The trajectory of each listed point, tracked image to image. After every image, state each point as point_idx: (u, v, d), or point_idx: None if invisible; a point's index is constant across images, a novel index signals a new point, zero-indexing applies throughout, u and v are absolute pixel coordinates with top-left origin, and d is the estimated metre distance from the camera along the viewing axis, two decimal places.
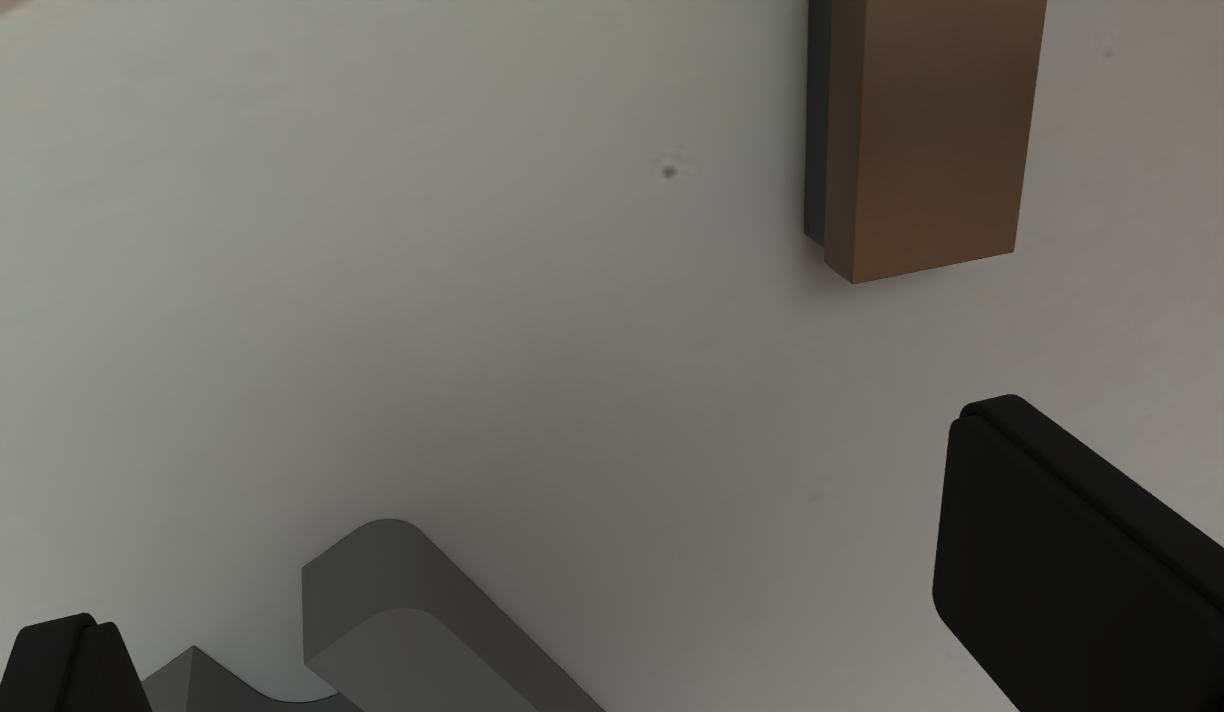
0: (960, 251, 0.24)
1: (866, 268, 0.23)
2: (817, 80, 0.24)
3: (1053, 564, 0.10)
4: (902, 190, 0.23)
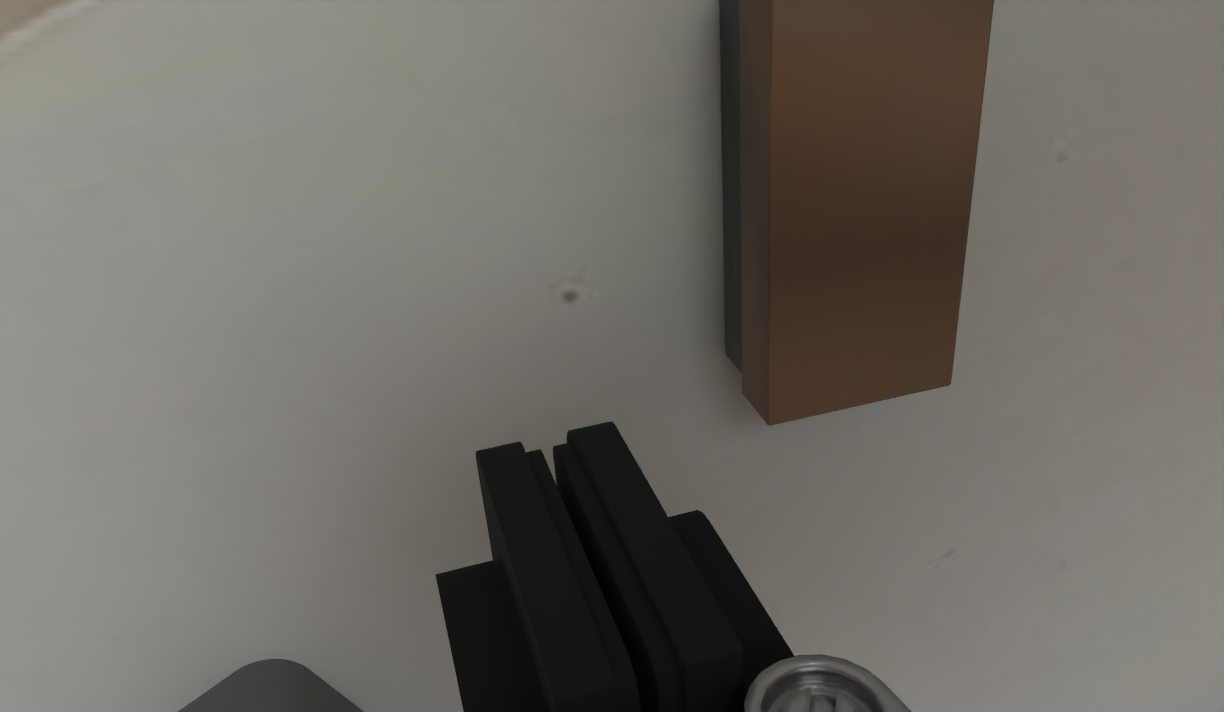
0: (889, 387, 0.22)
1: (783, 409, 0.21)
2: (731, 199, 0.21)
3: None
4: (821, 327, 0.21)
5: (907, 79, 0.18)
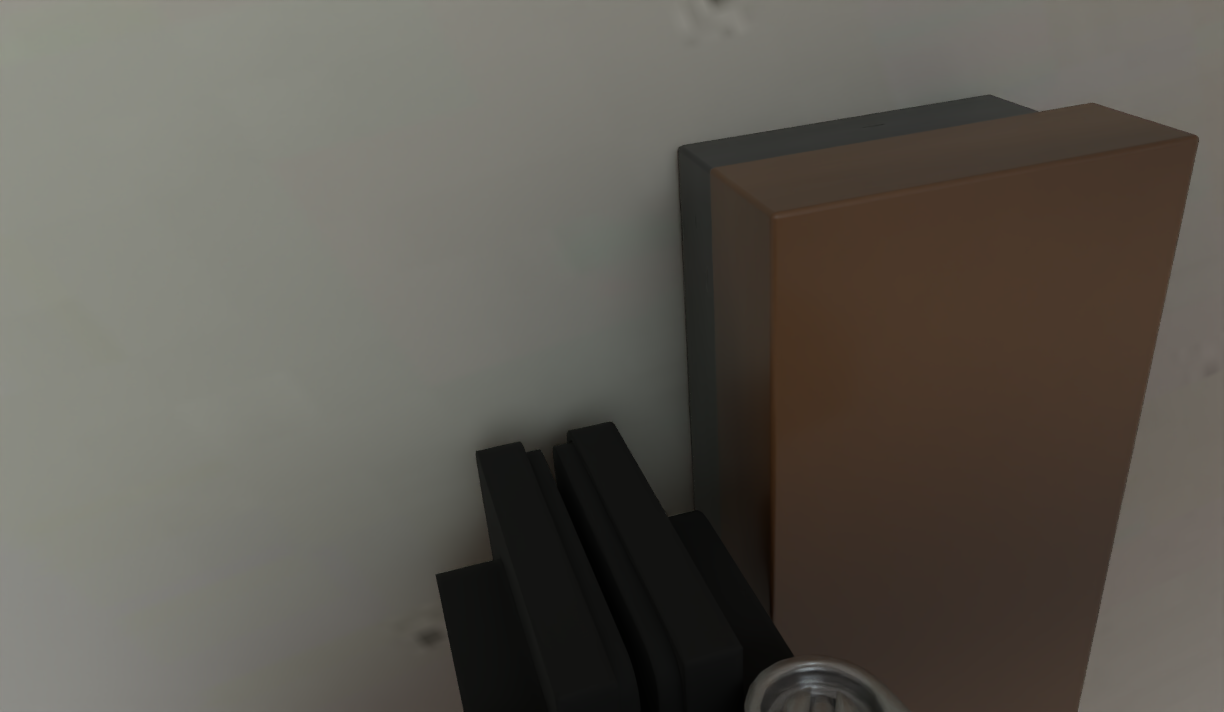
0: None
1: None
2: (706, 487, 0.13)
3: None
4: None
5: (1024, 343, 0.10)
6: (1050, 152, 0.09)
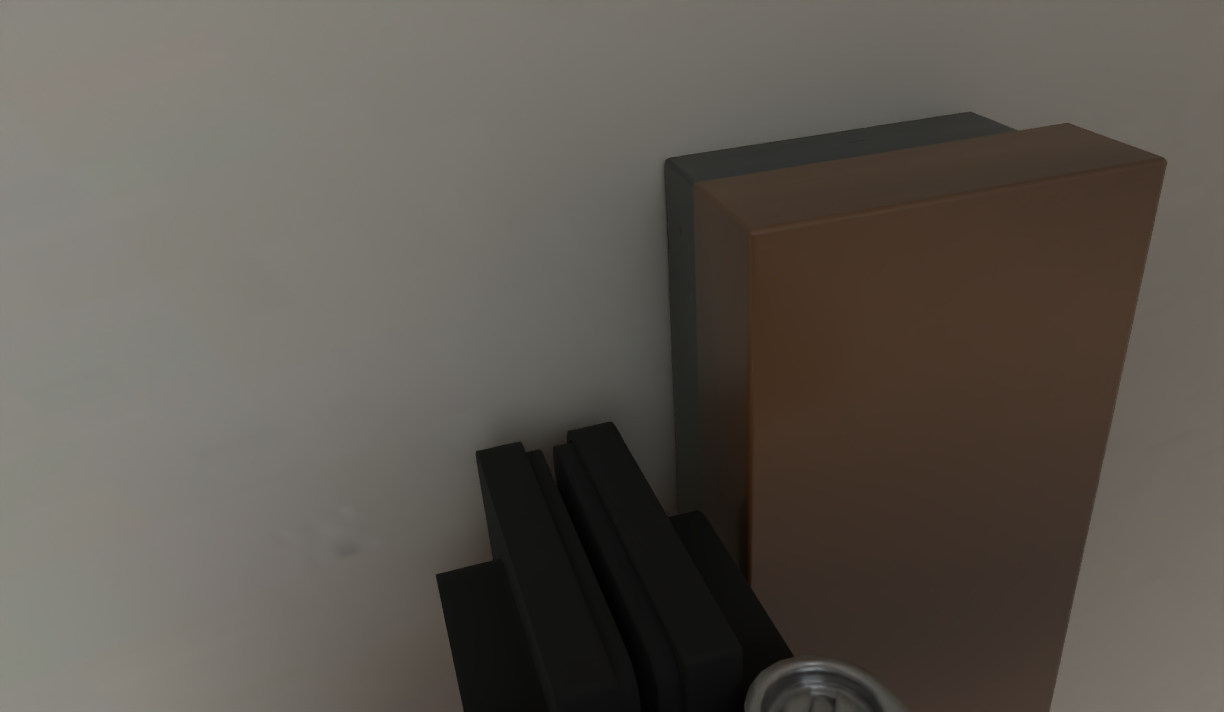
0: None
1: None
2: (689, 491, 0.13)
3: None
4: None
5: (996, 356, 0.10)
6: (1022, 172, 0.10)
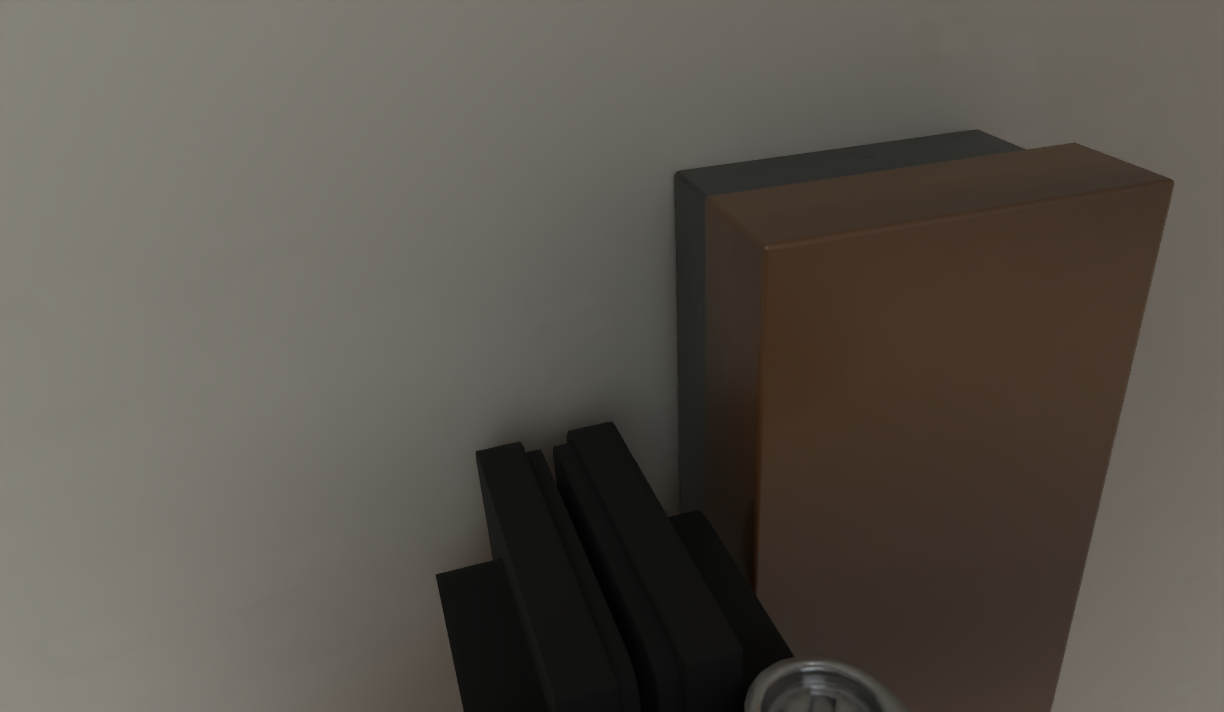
0: None
1: None
2: (692, 503, 0.13)
3: None
4: None
5: (1002, 373, 0.10)
6: (1031, 191, 0.10)
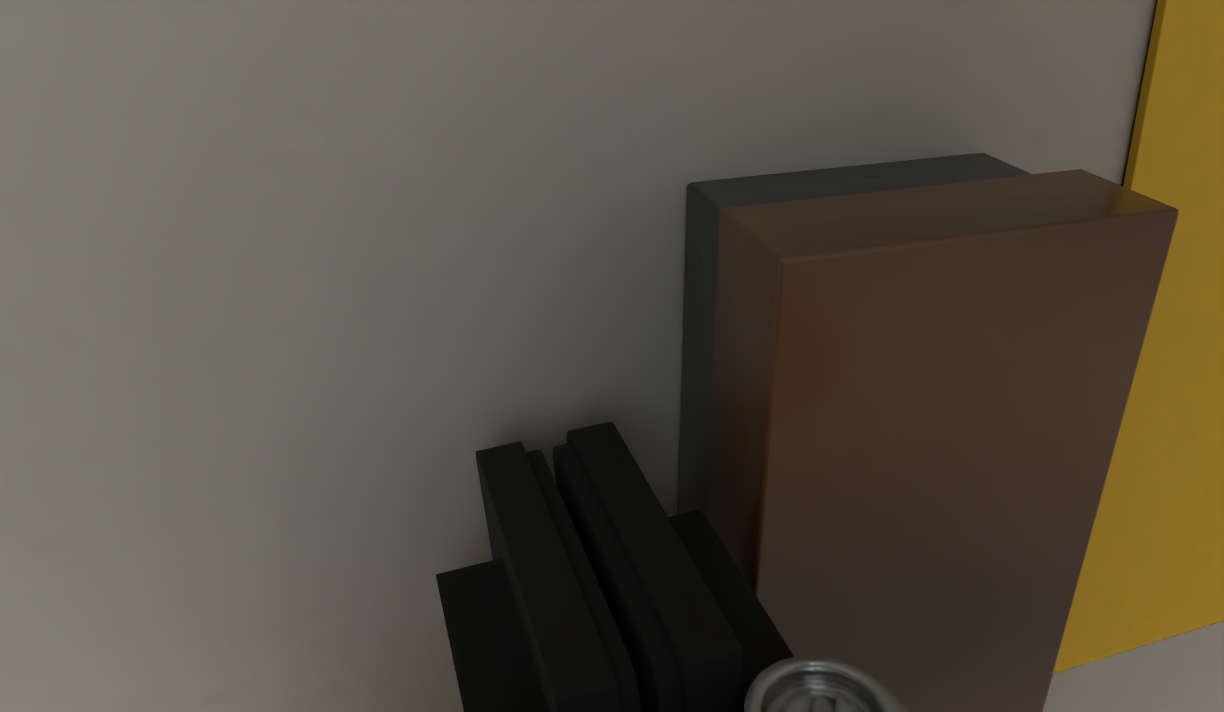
0: None
1: None
2: (690, 511, 0.13)
3: None
4: None
5: (1005, 393, 0.11)
6: (1041, 215, 0.10)
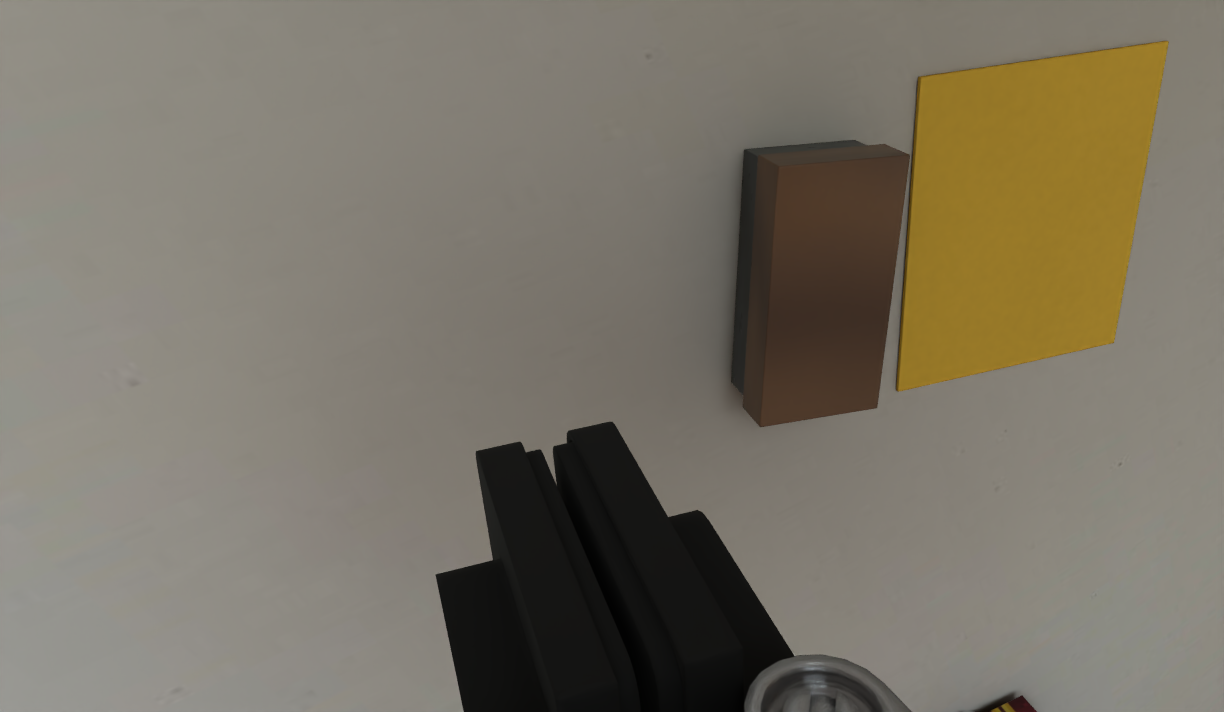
0: (838, 407, 0.34)
1: (770, 416, 0.33)
2: (742, 281, 0.34)
3: None
4: (796, 365, 0.33)
5: (855, 218, 0.31)
6: (863, 156, 0.30)
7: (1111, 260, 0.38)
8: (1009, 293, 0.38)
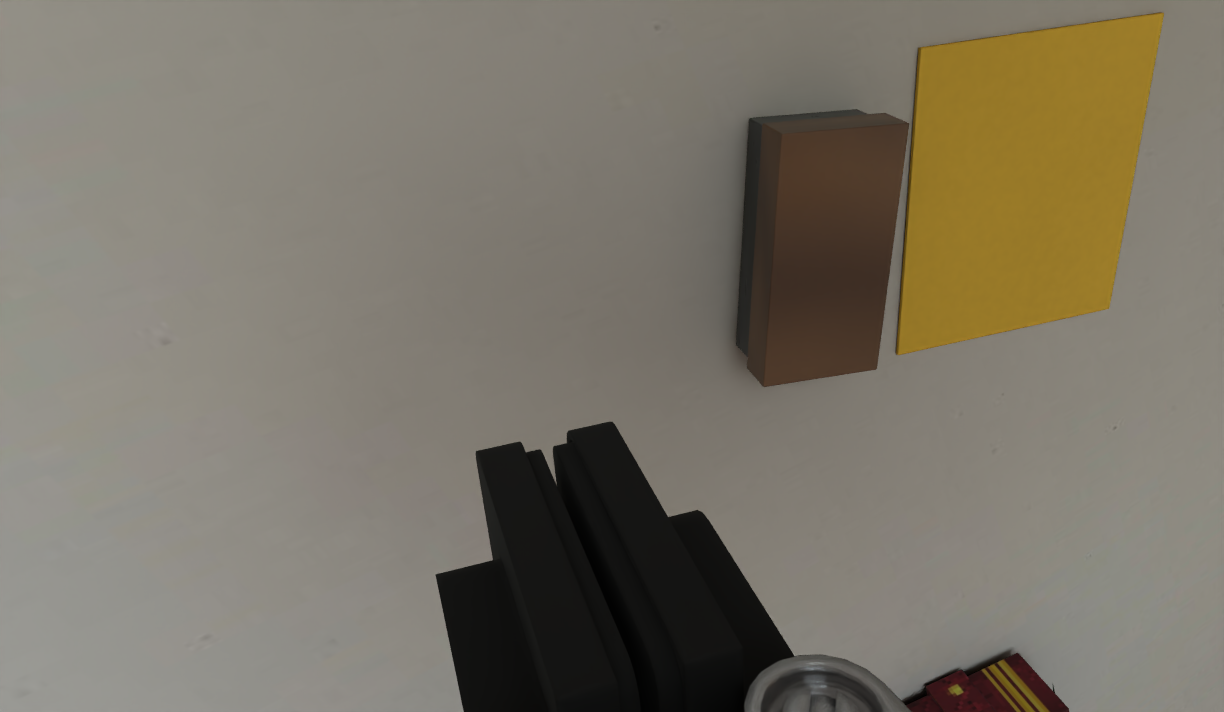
0: (838, 368, 0.35)
1: (773, 376, 0.35)
2: (747, 246, 0.35)
3: None
4: (799, 327, 0.34)
5: (855, 184, 0.32)
6: (864, 124, 0.31)
7: (1107, 228, 0.40)
8: (1007, 260, 0.39)
